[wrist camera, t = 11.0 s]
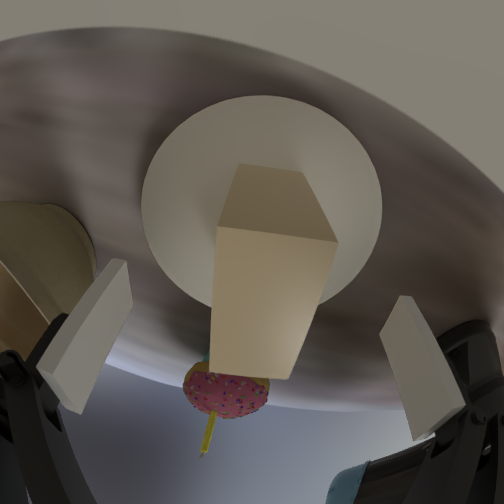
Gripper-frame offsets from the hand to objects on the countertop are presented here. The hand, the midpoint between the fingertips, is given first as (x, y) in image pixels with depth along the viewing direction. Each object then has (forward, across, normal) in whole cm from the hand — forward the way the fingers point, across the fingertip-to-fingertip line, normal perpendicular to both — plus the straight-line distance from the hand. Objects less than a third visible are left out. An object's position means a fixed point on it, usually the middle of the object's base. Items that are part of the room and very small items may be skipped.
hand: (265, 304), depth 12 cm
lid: (+9, 0, 0) cm, 9 cm away
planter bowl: (+9, +19, +5) cm, 22 cm away
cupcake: (+10, +1, +16) cm, 19 cm away
